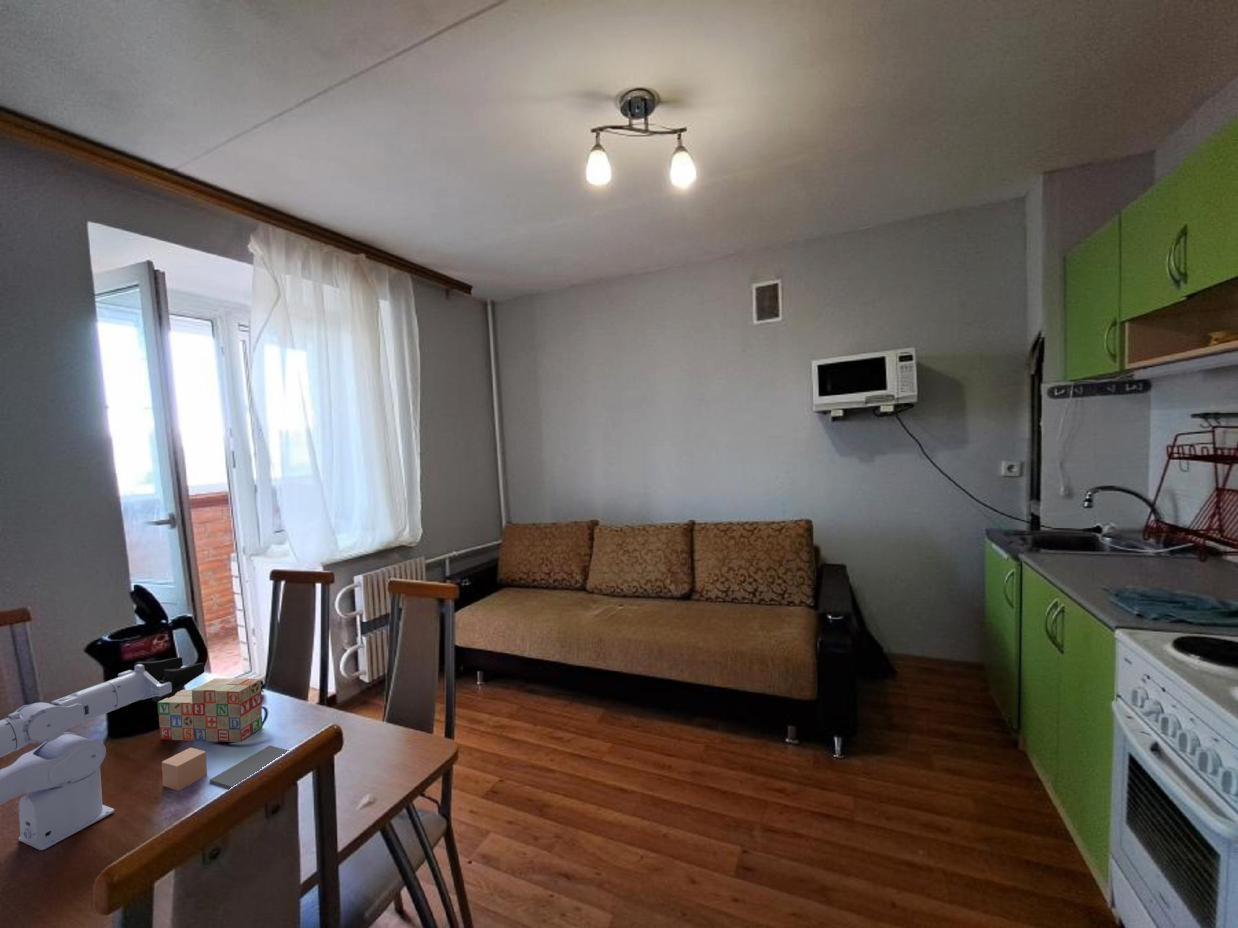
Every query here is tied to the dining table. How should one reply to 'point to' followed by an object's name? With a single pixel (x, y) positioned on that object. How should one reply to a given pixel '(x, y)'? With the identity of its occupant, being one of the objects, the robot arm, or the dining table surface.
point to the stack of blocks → (213, 711)
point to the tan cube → (184, 768)
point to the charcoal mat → (247, 767)
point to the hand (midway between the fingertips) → (192, 664)
